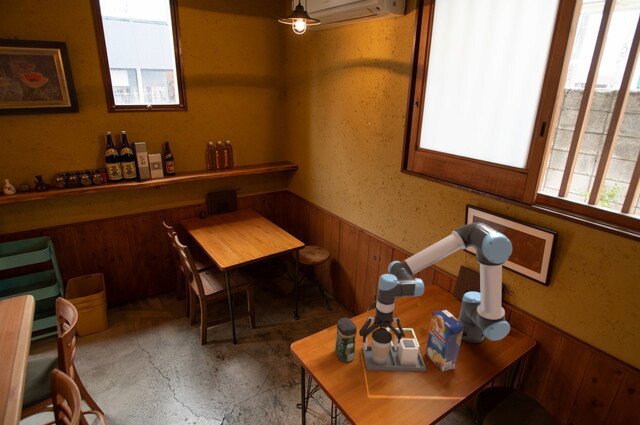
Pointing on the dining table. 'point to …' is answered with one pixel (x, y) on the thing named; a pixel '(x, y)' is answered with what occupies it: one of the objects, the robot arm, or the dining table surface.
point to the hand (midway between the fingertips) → (380, 348)
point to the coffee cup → (381, 345)
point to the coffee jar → (345, 339)
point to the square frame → (406, 331)
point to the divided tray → (391, 361)
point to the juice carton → (444, 340)
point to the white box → (407, 352)
